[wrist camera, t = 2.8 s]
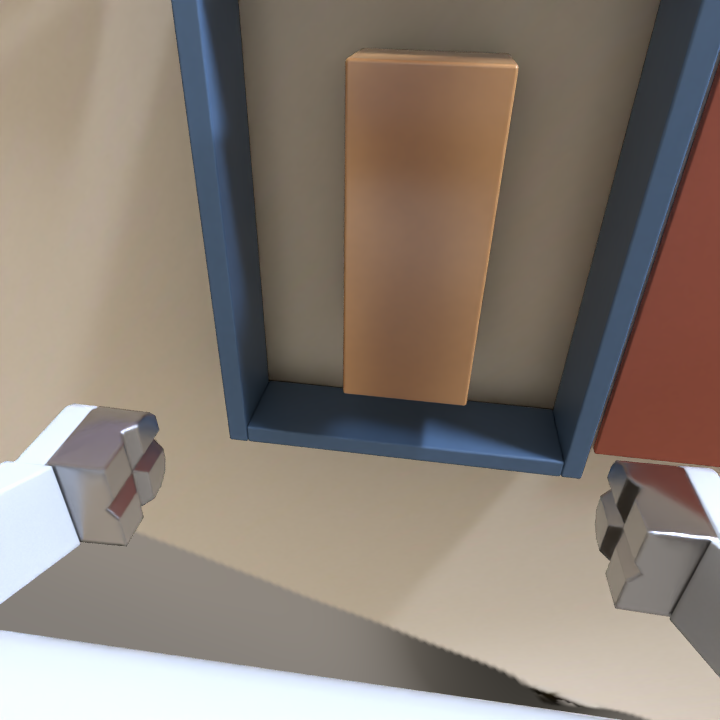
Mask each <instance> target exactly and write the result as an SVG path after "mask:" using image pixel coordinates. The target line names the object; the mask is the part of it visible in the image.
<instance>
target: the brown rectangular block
mask: <svg viewBox="0 0 720 720" xmlns="http://www.w3.org/2000/svg"><path fill="white" fill-rule="evenodd" d="M518 70H519V68H518V65H517V64H516V62H515V61H514V60H513V58H512V57H511V56H510V55H509V54H508V53H482V52H455V51H429V50H403V49H377V48H362V49H361V50H359V51H357V52H356V53H354V54H353V55H351V56H350V57H348V58H347V59H346V61H345V196H344V338H343V392H344V393H347V394H356V395H366V396H376V397H385V398H395V399H405V400H414V401H424V402H434V403H443V404H453V405H463V406H464V405H466V403H467V396H468V390H469V384H470V377H471V371H472V364H473V358H474V352H475V345H476V339H477V332H478V326H479V320H480V313H481V307H482V300H483V294H484V287H485V281H486V275H487V268H488V262H489V255H490V249H491V243H492V236H493V230H494V223H495V217H496V211H497V204H498V198H499V191H500V185H501V179H502V172H503V166H504V159H505V153H506V147H507V140H508V134H509V127H510V121H511V115H512V108H513V102H514V95H515V89H516V83H517V76H518Z"/></svg>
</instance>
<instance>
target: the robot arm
mask: <svg viewBox="0 0 720 720" xmlns="http://www.w3.org/2000/svg"><path fill="white" fill-rule="evenodd" d="M158 431H159V427H158V424H157V420H156V416H155V415H153V414H151V413H150V412H142V411H134V410H126V409H118V408H110V407H102V406H99V407H97V406H90V405H82V404H72V405H69V406H66V407H65V408H64V409H63V410H62V411H61V412H60V413H59V415H58V416H57V417H56V418H55V419H54V420H53V421H52V422H51V423H50V424H49V425H48V426H47V427H46V429H45V430H44V431H43V432H42V433H41V434H40V435H39V436H38V437H37V438H36V439H35V440H34V441H33V442H32V444H31V445H30V446H29V447H28V448H27V449H26V450H25V451H24V452H23V453H22V454H21V455H20V456H19V458H18V459H17V460H16V461H15V462H11V461H5V462H3V463H1V464H0V604H1V603H2V602H4V601H5V600H6V599H8V598H9V597H10V596H12V595H13V594H14V593H16V592H17V591H18V590H20V589H21V588H22V587H24V586H25V585H27V584H28V583H29V582H31V581H32V580H33V579H34V578H36V577H37V576H39V575H40V574H41V573H43V572H44V571H45V570H47V569H48V568H49V567H51V566H52V565H53V564H55V563H56V562H57V561H59V560H60V559H62V558H63V557H64V556H66V555H67V554H68V553H70V552H71V551H72V550H73V549H75V548H76V547H78V546H79V545H80V542H87V543H98V544H107V545H118V546H127V545H128V543H129V541H130V539H131V538H132V536H133V534H134V533H135V531H136V529H137V528H138V526H139V524H140V523H141V521H142V519H143V517H144V516H143V512H142V509H141V506H143V505H145V504H146V503H148V502H149V501H151V500H153V499H154V498H155V497H156V495H157V493H158V491H159V489H160V488H161V485H162V481H163V478H164V474H165V454H164V449H163V448H162V447H161V446H160V445H159V444H158V443H157V442H156V441H155V440H154V437H155V436H156V434H157V433H158ZM607 478H608V481H609V485H610V488H611V489H610V490H609V491H607V492H606V493H604V494H603V495H601V496H600V500H599V503H598V506H597V509H596V519H595V531H596V539H597V543H598V547H599V551H600V552H601V553H602V554H603V555H604V556H605V557H606V558H608V559H609V560H610V562H609V565H608V568H607V570H606V577H607V581H608V584H609V588H610V591H611V595H612V599H613V602H614V606H615V608H616V609H623V610H630V611H636V612H643V613H649V614H656V615H662V616H669V617H670V620H671V622H672V623H673V624H674V625H675V626H676V627H677V629H678V630H679V631H680V632H681V633H682V634H683V635H684V637H685V638H686V639H687V640H688V641H689V642H690V644H691V645H692V646H693V647H694V648H695V649H696V651H697V652H698V653H699V654H700V655H701V656H702V658H703V659H704V660H705V661H706V662H707V663H708V665H709V666H710V667H711V668H712V669H713V670H714V671H715V673H716V674H717V675H718V676H719V677H720V477H719V475H718V474H717V473H716V472H715V471H714V470H712V469H711V468H700V467H688V466H678V467H677V466H670V465H659V464H649V463H639V462H628V461H618V460H616V461H615V462H614V464H613V465H612V466H611V469H610V471H609V474H608V477H607ZM0 720H619V719H612V718H605V717H598V716H591V715H585V714H577V713H570V712H564V711H557V710H550V709H542V708H535V707H528V706H522V705H514V704H508V703H501V702H493V701H487V700H479V699H473V698H466V697H459V696H452V695H445V694H438V693H431V692H424V691H417V690H410V689H403V688H396V687H389V686H383V685H376V684H368V683H362V682H355V681H348V680H341V679H334V678H327V677H321V676H314V675H307V674H300V673H293V672H286V671H279V670H272V669H266V668H258V667H252V666H245V665H238V664H231V663H224V662H218V661H211V660H204V659H196V658H190V657H183V656H176V655H169V654H162V653H156V652H148V651H142V650H135V649H128V648H121V647H113V646H107V645H100V644H93V643H87V642H80V641H72V640H66V639H58V638H52V637H45V636H38V635H31V634H24V633H17V632H11V631H4V630H0Z"/></svg>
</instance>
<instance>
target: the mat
mask: <svg viewBox="0 0 720 720" xmlns="http://www.w3.org/2000/svg"><path fill="white" fill-rule="evenodd" d="M593 449H594V452H595V453H596V454H605V455H614V456H623V457H632V458H642V459H651V460H660V461H669V462H678V463H687V464H696V465H705V466H715V467H720V62H719V65H718V68H717V71H716V74H715V78H714V81H713V84H712V87H711V90H710V93H709V96H708V99H707V102H706V105H705V108H704V111H703V114H702V117H701V120H700V123H699V126H698V129H697V133H696V136H695V139H694V142H693V145H692V148H691V151H690V154H689V157H688V160H687V163H686V166H685V169H684V172H683V175H682V178H681V181H680V185H679V188H678V191H677V194H676V197H675V200H674V203H673V206H672V209H671V212H670V215H669V218H668V221H667V224H666V227H665V230H664V233H663V236H662V240H661V243H660V246H659V249H658V252H657V255H656V258H655V261H654V264H653V267H652V270H651V273H650V276H649V279H648V282H647V285H646V288H645V291H644V295H643V298H642V301H641V304H640V307H639V310H638V313H637V316H636V319H635V322H634V325H633V328H632V331H631V334H630V337H629V340H628V343H627V346H626V350H625V353H624V356H623V359H622V362H621V365H620V368H619V371H618V374H617V377H616V380H615V383H614V386H613V389H612V392H611V395H610V398H609V402H608V405H607V408H606V411H605V414H604V417H603V420H602V423H601V426H600V429H599V432H598V435H597V438H596V441H595V444H594V447H593Z"/></svg>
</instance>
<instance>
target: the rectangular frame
mask: <svg viewBox="0 0 720 720" xmlns="http://www.w3.org/2000/svg"><path fill="white" fill-rule="evenodd" d="M171 2H172V10H173V17H174V25H175V32H176V39H177V47H178V54H179V62H180V69H181V76H182V84H183V91H184V99H185V106H186V114H187V121H188V128H189V136H190V143H191V151H192V158H193V165H194V173H195V180H196V188H197V195H198V203H199V210H200V217H201V225H202V232H203V240H204V247H205V254H206V262H207V269H208V277H209V284H210V291H211V299H212V306H213V314H214V321H215V329H216V336H217V343H218V351H219V358H220V366H221V373H222V380H223V388H224V395H225V403H226V410H227V417H228V425H229V432H230V438H231V439H236V440H244V441H247V440H248V439H249V441H255V442H264V443H273V444H281V445H290V446H299V447H308V448H316V449H325V450H334V451H343V452H351V453H360V454H369V455H377V456H386V457H395V458H404V459H412V460H421V461H430V462H439V463H447V464H456V465H465V466H473V467H482V468H491V469H500V470H508V471H517V472H526V473H535V474H543V475H552V476H560V475H561V476H562V477H569V478H577V479H580V478H581V476H582V473H583V470H584V467H585V464H586V461H587V458H588V455H589V451H590V448H591V445H592V442H593V439H594V436H595V433H596V430H597V427H598V424H599V421H600V417H601V414H602V411H603V408H604V405H605V402H606V399H607V396H608V393H609V390H610V387H611V383H612V380H613V377H614V374H615V371H616V368H617V365H618V362H619V359H620V356H621V353H622V350H623V346H624V343H625V340H626V337H627V334H628V331H629V328H630V325H631V322H632V319H633V316H634V312H635V309H636V306H637V303H638V300H639V297H640V294H641V291H642V288H643V285H644V282H645V278H646V275H647V272H648V269H649V266H650V263H651V260H652V257H653V254H654V251H655V248H656V244H657V241H658V238H659V235H660V232H661V229H662V226H663V223H664V220H665V217H666V214H667V211H668V207H669V204H670V201H671V198H672V195H673V192H674V189H675V186H676V183H677V180H678V177H679V173H680V170H681V167H682V164H683V161H684V158H685V155H686V152H687V149H688V146H689V143H690V139H691V136H692V133H693V130H694V127H695V124H696V121H697V118H698V115H699V112H700V109H701V106H702V102H703V99H704V96H705V93H706V90H707V87H708V84H709V81H710V78H711V75H712V72H713V68H714V65H715V62H716V59H717V56H718V53H719V50H720V0H661V2H660V6H659V9H658V13H657V17H656V21H655V25H654V28H653V32H652V36H651V40H650V44H649V47H648V51H647V55H646V59H645V63H644V66H643V70H642V74H641V78H640V82H639V85H638V89H637V93H636V97H635V101H634V104H633V108H632V112H631V116H630V120H629V123H628V127H627V131H626V135H625V139H624V142H623V146H622V150H621V154H620V158H619V161H618V165H617V169H616V173H615V177H614V180H613V184H612V188H611V192H610V196H609V199H608V203H607V207H606V211H605V215H604V218H603V222H602V226H601V230H600V234H599V237H598V241H597V245H596V249H595V253H594V257H593V260H592V264H591V268H590V272H589V276H588V279H587V283H586V287H585V291H584V295H583V298H582V302H581V306H580V310H579V314H578V317H577V321H576V325H575V329H574V333H573V336H572V340H571V344H570V348H569V352H568V355H567V359H566V363H565V367H564V371H563V374H562V378H561V382H560V386H559V390H558V393H557V397H556V401H555V405H554V409H553V411H552V410H551V409H542V408H532V407H523V406H513V405H503V404H493V403H484V402H474V401H467V403H466V405H464V406H463V405H453V404H443V403H434V402H424V401H414V400H405V399H395V398H385V397H376V396H366V395H356V394H347V393H344V392H343V388H337V387H328V386H318V385H308V384H298V383H289V382H279V381H269V379H268V366H267V354H266V342H265V329H264V317H263V304H262V292H261V280H260V267H259V255H258V243H257V230H256V218H255V205H254V193H253V181H252V168H251V156H250V143H249V131H248V119H247V106H246V94H245V81H244V69H243V57H242V44H241V32H240V19H239V7H238V0H171Z"/></svg>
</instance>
